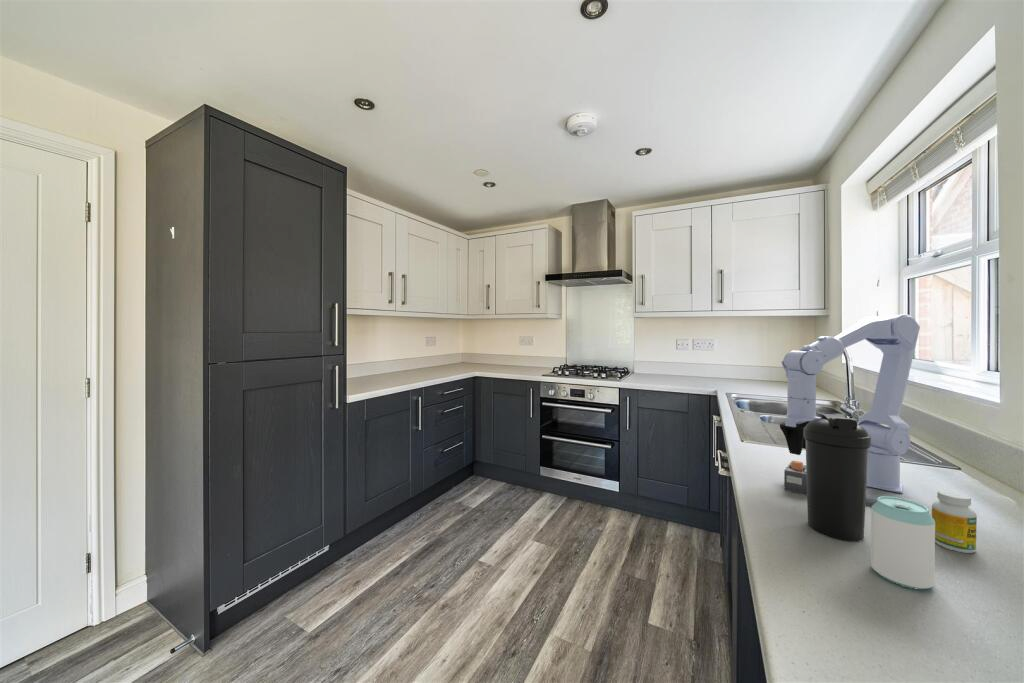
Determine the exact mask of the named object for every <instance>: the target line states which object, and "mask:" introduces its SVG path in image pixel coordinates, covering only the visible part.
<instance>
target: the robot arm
mask: <svg viewBox="0 0 1024 683" xmlns="http://www.w3.org/2000/svg"><path fill="white" fill-rule="evenodd" d="M920 329H921V327H920V325H919V323H918V322H917V321H916V319H915V318H914V317H913V316H912V315H910V314H897V315H880V316H876V315H875V316H871V315H869V316H868V315H867V316H864V317H862V318H861V319H857V321H856V323H855V324H853V325H852V326H850V327H849V328H847V329H845V330H843V331H842V332H840V333H839V334H837V335H834V336H829V335H828V336H825V335H824V336H823V335H821V336H819V337H817V338H816V339H817V340H816V341H813V342H812V343H810V344H805V345H803V346H802V347H801V348H800V349H799V350H791V351H789V352H788V353H786V354H785V355H784V357H783V360H781V366H782V368H783V369H784V371H785V377H786V378H787V396H786V397H787V401H786V402H787V403H786V404H787V405H786V406H787V411H786V412H787V413H786V416H785V420H784V421H785V423H783V422H782V423H780V424H779V429H780V430H781V431H782V433H783V435H784V438H785V440H786V444H787V448H788V451H789V453H790V454H791V455H798V456H800V455H801V454H802V452H803V449H804V450H806V440H805V439H804V436H803V429H804V427H806V425H807V424H808V423H809V422H810V421H812V420H815V419H819V418H821V416H817V414H816V412H817V407H816V406H817V405H816V404H817V374H819V373H820V372H821V371H822V370H823V367H824V365H826V364H827V363H829V362H831V361H833V360H835V359H838V358H839V357H840V356H842V355H843V354H844V352H845V349H846V348H849V347H850V346H853V345H855V344H857V343H860V342H862V341H864V340H865V341H867V342H868V343H870V345H873V346H874V347H875V348H876V349H879V350H880V351H881V353H882V354H883V355H882V359H881V362H880V363H881V364H880V369H879V372H878V376H877V379H876V380H877V382H876V385H875V389H874V392H873V393H874V394H873V398H872V403H871V407H870V410H869V411H867V412H866V413H864V414H861V415H859V417H858V421H857V424H858V425H860V426H862V427H863V428H864V429H865V430H866V431H867V433H868V434H869V435H870V436H871V445H870V448H869V449H868V464H867V484H866V487H869V488H874V489H878V490H884V491H888V492H893V493H898V494H903V484H902V483H903V482H902V481H901V456H904V453H906V452H907V451H908V450H909V448H910V447H911V444H912V443H911V442H912V440H911V437H910V432H911V426H909V424H908V423H906V421H905V420H903V419H902V418H901V417H900V415H901V410H902V406H903V402H904V397H905V392H906V389H907V384H908V381H909V377H910V372H911V367H912V363H913V359H914V354H915V349H916V346H917V341H918V338H919V332H920ZM884 425H885V426H884Z"/></svg>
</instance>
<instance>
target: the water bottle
mask: <svg viewBox="0 0 1024 683" xmlns="http://www.w3.org/2000/svg"><path fill="white" fill-rule="evenodd" d="M816 415H819V416H820V417H821V418H819V419H815V420H812V421H810V422H809V423H808V424H807V425H806V427H804V429H803V436H804V439H805V440H806V449H805V465H806V473H807V495H806V501H807V505H806V508H807V525H808V527H809V528H810V529H811V530H812V531H814V532H816V533H818V534H820V535H822V536H825V537H828V538H831V539H836V540H839V541H844V542H852V541H856V542H861V541H863V540H864V539H865V522H866V496H867V486H866V484H867V464H868V449H869V448H870V445H871V436H870V435H869V434H868V433H867V431H866V430H865V429H864V428H863V427H862V426H860V425H858V424H857V423H858V421H857V420H856V419H855V418H849V417H848V418H847V417H846V415H845V414H844V413H838V412H825V411H824V412H823V411H816ZM860 540H861V541H860Z"/></svg>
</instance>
